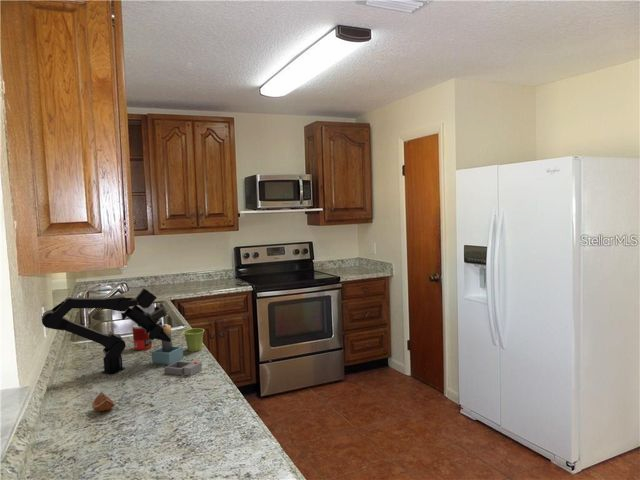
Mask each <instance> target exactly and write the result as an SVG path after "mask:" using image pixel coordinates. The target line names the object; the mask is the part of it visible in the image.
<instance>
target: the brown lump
mask: <svg viewBox="0 0 640 480" xmlns="http://www.w3.org/2000/svg"><path fill="white" fill-rule="evenodd" d="M115 405H116V403H115V402H114V401H113V400H112V399H111V398H110V397H109V396H107V395H106V394H105V393H104V392H102V391H100V393H99V394H98V395H97V396H96V397H95V398H94V400H93V401H92V404H91V407H92V409H93V410H94V411H99V412H105V410H106V411H109V410H111V409H112V408H113V407H114V406H115Z"/></svg>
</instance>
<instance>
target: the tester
mask: <svg viewBox="0 0 640 480" xmlns="http://www.w3.org/2000/svg"><path fill="white" fill-rule="evenodd" d="M202 363H203V362H201V361H197V360H196V361H193V362H192V361H185V360H184V361H182V360H179V361H176V362H174V363H172V364H170V365H165V367H163V370H164V374H165V375H172V374H173V375H174V376H181V375H182V376H186V375H188V376H187V377H192V376H194V375H196V374H197V373H199V372H201V371H202V370H203V364H202ZM201 369H202V370H201ZM200 370H201V371H200ZM198 371H199V372H198ZM196 372H197V373H196ZM195 373H196V374H195ZM183 374H184V375H183ZM193 374H194V375H193Z"/></svg>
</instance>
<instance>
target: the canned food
mask: <svg viewBox="0 0 640 480" xmlns="http://www.w3.org/2000/svg"><path fill="white" fill-rule="evenodd" d="M132 336H133V337H132V338H133V348H134V350H135V351H139V352H141V351H142V350H143V351H147V350H150V349H152V347H153V340H151V339H150V338H149V336H148V333H147V332H146V330H144V329H143V328H141V327H139V326H138V325H137V324H136V323H135V324H133V325H132Z"/></svg>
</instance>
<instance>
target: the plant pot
mask: <svg viewBox="0 0 640 480" xmlns="http://www.w3.org/2000/svg"><path fill="white" fill-rule="evenodd" d="M204 332H205V329H204V328H188V329H186V330H184V331H183V332H182V333H183V335H184V338H185V341H186V342H185V343H186V348H187V351H189V352H190V353H191V352H193V353H196V352H197V351H199V350H200V351H201V350H203V337H204Z"/></svg>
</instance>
